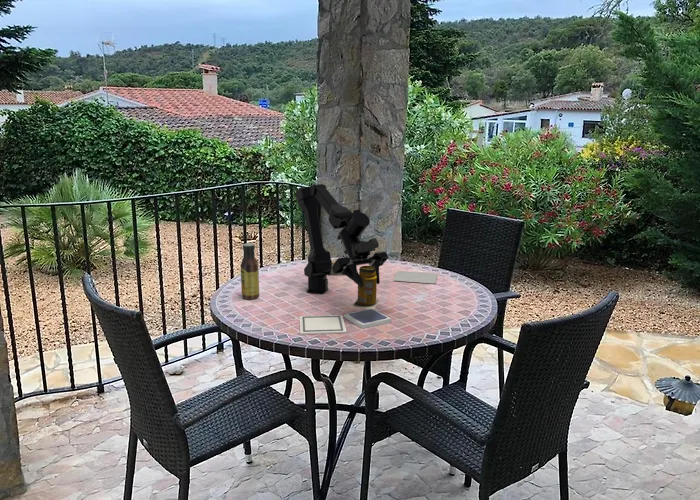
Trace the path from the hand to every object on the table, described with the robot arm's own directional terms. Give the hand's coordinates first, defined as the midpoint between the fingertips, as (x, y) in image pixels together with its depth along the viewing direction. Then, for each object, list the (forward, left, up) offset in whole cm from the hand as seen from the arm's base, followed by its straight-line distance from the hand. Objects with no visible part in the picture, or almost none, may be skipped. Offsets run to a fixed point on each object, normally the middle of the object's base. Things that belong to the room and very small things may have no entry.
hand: (370, 285), depth 174 cm
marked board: (-13, -8, -12) cm, 20 cm away
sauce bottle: (-47, +8, -12) cm, 49 cm away
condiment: (-1, 0, -7) cm, 7 cm away
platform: (-27, +45, -13) cm, 54 cm away
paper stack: (+1, +47, -13) cm, 48 cm away
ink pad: (-1, +1, -12) cm, 12 cm away
